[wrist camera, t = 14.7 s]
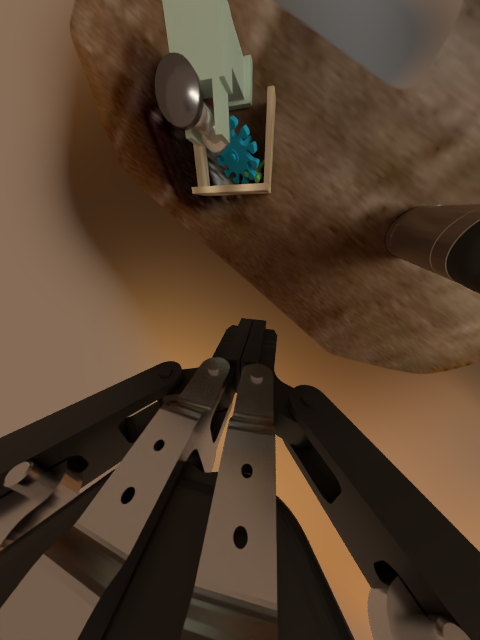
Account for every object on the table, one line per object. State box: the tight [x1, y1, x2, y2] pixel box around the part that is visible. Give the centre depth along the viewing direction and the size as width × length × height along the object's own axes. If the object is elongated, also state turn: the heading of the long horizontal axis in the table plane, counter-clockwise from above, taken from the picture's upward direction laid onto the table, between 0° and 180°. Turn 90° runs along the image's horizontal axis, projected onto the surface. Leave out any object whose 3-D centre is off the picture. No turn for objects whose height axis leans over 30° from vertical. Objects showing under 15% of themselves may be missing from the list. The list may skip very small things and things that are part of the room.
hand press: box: [162, 0, 252, 147], centre depth 25 cm, size 6×13×17 cm, turn 1°
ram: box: [155, 52, 230, 153], centre depth 21 cm, size 4×4×11 cm
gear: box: [217, 115, 265, 184], centre depth 33 cm, size 11×6×10 cm
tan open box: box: [192, 86, 276, 196], centre depth 32 cm, size 14×13×7 cm
